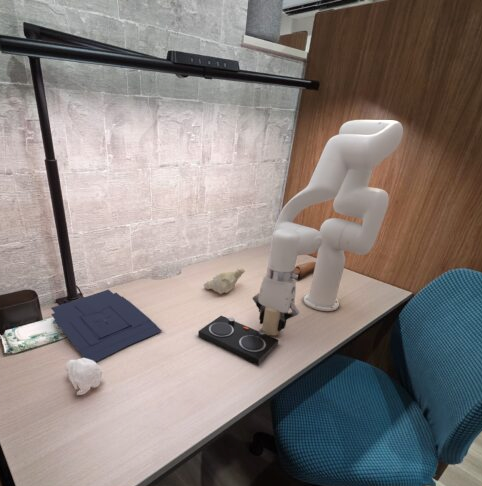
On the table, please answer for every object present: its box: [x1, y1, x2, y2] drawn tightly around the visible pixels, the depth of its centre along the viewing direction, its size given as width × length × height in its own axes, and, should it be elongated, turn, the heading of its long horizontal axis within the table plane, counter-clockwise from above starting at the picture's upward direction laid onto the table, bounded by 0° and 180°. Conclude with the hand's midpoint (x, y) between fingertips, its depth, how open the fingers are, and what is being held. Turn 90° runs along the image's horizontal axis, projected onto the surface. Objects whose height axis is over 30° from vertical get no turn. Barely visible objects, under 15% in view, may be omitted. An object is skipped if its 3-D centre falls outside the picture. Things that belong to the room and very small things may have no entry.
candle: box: [261, 306, 281, 336], centre depth 98 cm, size 6×6×10 cm
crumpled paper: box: [65, 357, 103, 396], centre depth 76 cm, size 6×8×12 cm
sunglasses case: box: [294, 261, 316, 281], centre depth 143 cm, size 18×7×7 cm, turn 135°
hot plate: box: [197, 315, 279, 366], centre depth 95 cm, size 12×21×3 cm, turn 52°
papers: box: [50, 288, 163, 363], centre depth 100 cm, size 24×30×4 cm
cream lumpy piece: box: [203, 268, 246, 295], centre depth 124 cm, size 15×7×15 cm
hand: (271, 325), depth 99 cm, fingers closed on candle, 5 cm apart
